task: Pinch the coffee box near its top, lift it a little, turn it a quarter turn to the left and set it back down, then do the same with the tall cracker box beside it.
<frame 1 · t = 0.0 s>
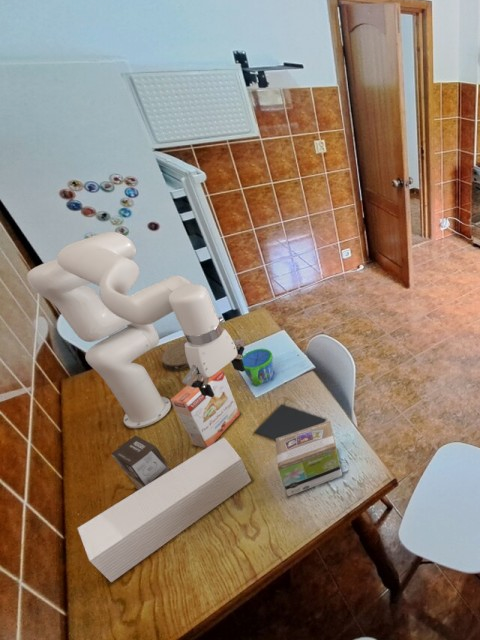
hand: (225, 382, 103), 31 cm above the table, tool pointing down, fingers open, 9 cm apart
snack cup: (262, 378, 146), on the table
round cork coaster: (188, 356, 154), on the table
tea box: (314, 473, 115), on the table
coffee box: (157, 485, 110), on the table
cracker box: (218, 429, 126), on the table
white long rectangular block: (181, 513, 104), on the table
placemat: (290, 426, 128), on the table
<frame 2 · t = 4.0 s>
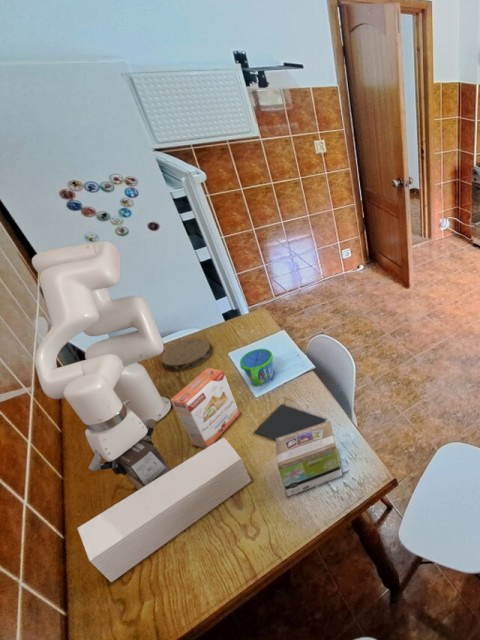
hand: (136, 460, 105), 10 cm above the table, tool pointing down, fingers closed on coffee box, 6 cm apart
coffee box: (157, 485, 110), on the table, touching gripper
everything else where it was.
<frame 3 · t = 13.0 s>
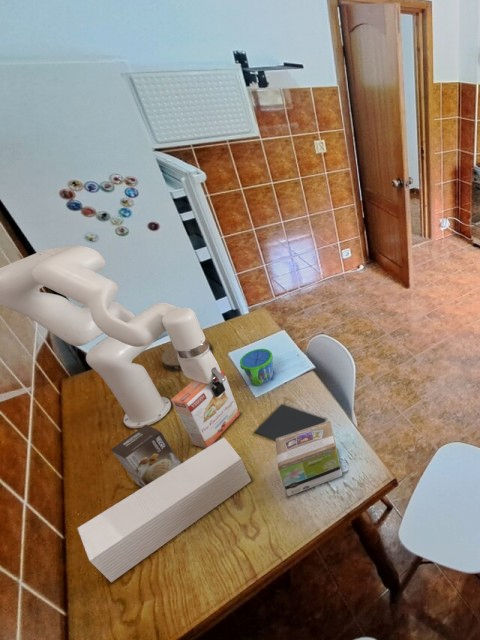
hand: (211, 390, 121), 15 cm above the table, tool pointing down, fingers closed on cracker box, 6 cm apart
coffee box: (159, 475, 113), on the table
cracker box: (218, 429, 126), on the table, touching gripper
everything else where it was.
when the fingers open (15 cm above the table, at t = 16.3 s): cracker box stays where it is, on the table.
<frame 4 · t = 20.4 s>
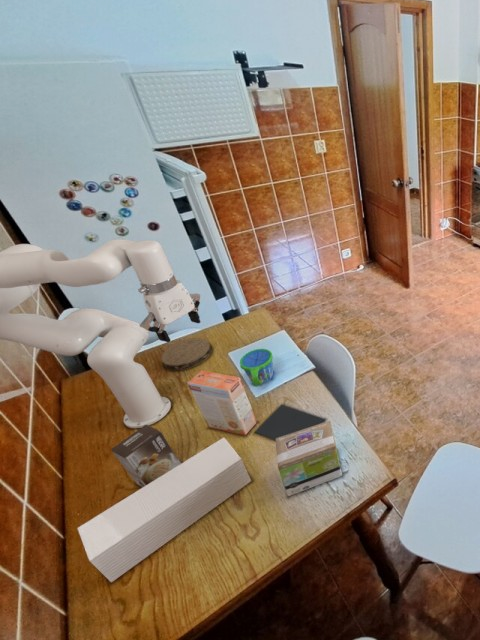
hand: (181, 331, 117), 33 cm above the table, tool pointing down, fingers open, 9 cm apart
cracker box: (233, 425, 128), on the table
everything else where it was.
at the end: coffee box 0.0 cm from the target spot, on the table; cracker box 0.0 cm from the target spot, on the table; cracker box tilted 0° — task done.
